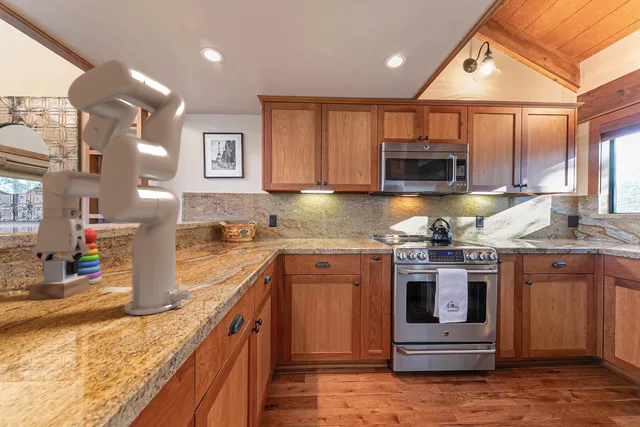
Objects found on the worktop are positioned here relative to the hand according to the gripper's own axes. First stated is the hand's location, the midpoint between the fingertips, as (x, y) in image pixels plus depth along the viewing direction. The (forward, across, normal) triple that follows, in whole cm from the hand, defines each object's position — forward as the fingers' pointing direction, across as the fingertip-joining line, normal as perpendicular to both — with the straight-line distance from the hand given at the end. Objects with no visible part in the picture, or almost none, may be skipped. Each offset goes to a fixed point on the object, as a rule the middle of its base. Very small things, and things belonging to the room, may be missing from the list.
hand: (61, 273), depth 76 cm
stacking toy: (+6, +1, -11) cm, 13 cm away
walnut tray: (+6, 0, 0) cm, 6 cm away
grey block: (+2, 0, 0) cm, 2 cm away
